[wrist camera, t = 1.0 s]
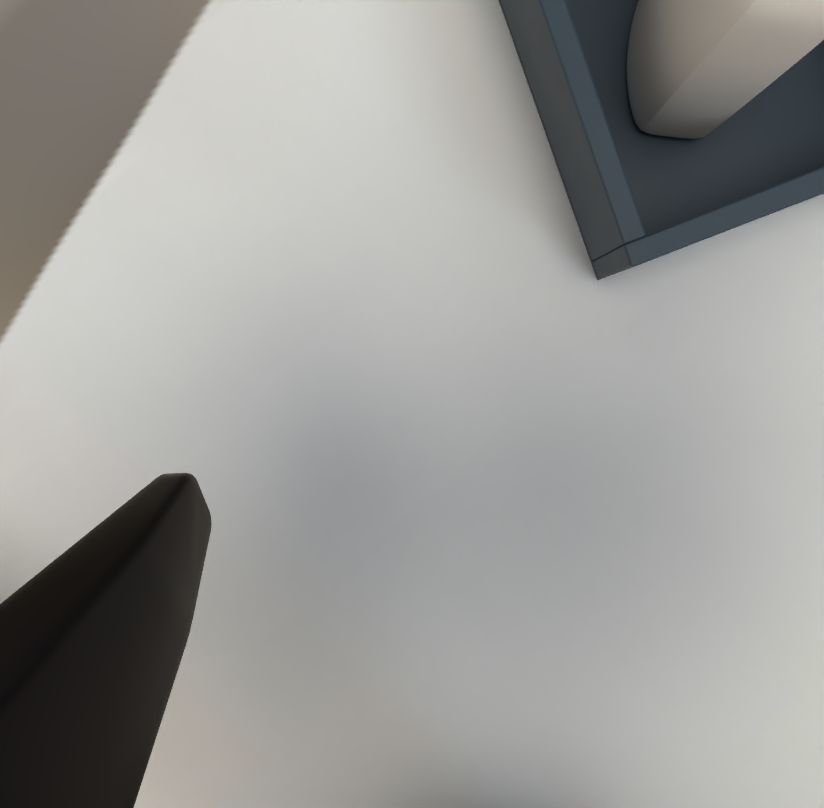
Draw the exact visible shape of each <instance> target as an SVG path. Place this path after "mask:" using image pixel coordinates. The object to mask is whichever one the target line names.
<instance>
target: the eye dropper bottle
mask: <svg viewBox="0 0 824 808" xmlns="http://www.w3.org/2000/svg"><path fill="white" fill-rule="evenodd" d="M823 40H824V0H639V1H638V4H637V7H636V10H635V13H634V17H633V21H632V25H631V30H630V35H629V42H628V51H627V86H628V95H629V101H630V106H631V111H632V115H633V118H634V121H635V123H636V124H637V126H638V127H639V129H640V130H642V131H644V132H646V133H648V134H652V135H659V136H668V137H677V138H687V139H697V138H702V137H705V136H707V135H708V134H709V133H711V132H712V131H713V130H714V129H716V128H717V127H718V126H719V125H721V124H722V123H723V122H724V121H726V120H727V119H728V118H729V117H731V116H732V115H733V114H734V113H735V112H737V111H738V110H739V109H740V108H742V107H743V106H744V105H745V104H747V103H748V102H749V101H750V100H751V99H753V98H754V97H755V96H756V95H758V94H759V93H760V92H761V91H763V90H764V89H765V88H766V87H767V86H769V85H770V84H771V83H772V82H773V81H775V80H776V79H777V78H778V77H780V76H781V75H782V74H783V73H784V72H786V71H787V70H788V69H789V68H790V67H792V66H793V65H794V64H795V63H797V62H798V61H799V60H800V59H801V58H803V57H804V56H805V55H806V54H807V53H809V52H810V51H811V50H812V49H813V48H815V47H816V46H817V45H818V44H819V43H820V42H822V41H823Z"/></svg>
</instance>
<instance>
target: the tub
mask: <svg viewBox="0 0 824 808" xmlns="http://www.w3.org/2000/svg"><path fill="white" fill-rule="evenodd" d="M638 1H639V0H499V2H500V5H501V8H502V11H503V14H504V16H505V19H506V22H507V25H508V28H509V31H510V33H511V36H512V39H513V42H514V45H515V48H516V50H517V53H518V56H519V59H520V62H521V65H522V67H523V70H524V73H525V76H526V79H527V82H528V84H529V87H530V90H531V93H532V96H533V99H534V102H535V104H536V107H537V110H538V113H539V116H540V119H541V121H542V124H543V127H544V130H545V133H546V136H547V138H548V141H549V144H550V147H551V150H552V153H553V155H554V158H555V161H556V164H557V167H558V170H559V172H560V175H561V178H562V181H563V184H564V187H565V189H566V192H567V195H568V198H569V201H570V204H571V206H572V209H573V212H574V215H575V218H576V221H577V223H578V226H579V229H580V232H581V235H582V238H583V240H584V243H585V246H586V249H587V252H588V255H589V257H590V260H591V263H592V266H593V269H594V272H595V274H596V277H597V280H599V279H602V278H605V277H607V276H610V275H613V274H615V273H618V272H621V271H623V270H626V269H628V268H631V267H634V266H636V265H639V264H642V263H644V262H647V261H649V260H652V259H655V258H657V257H660V256H662V255H665V254H668V253H670V252H673V251H675V250H678V249H680V248H683V247H686V246H688V245H691V244H693V243H696V242H699V241H701V240H704V239H706V238H709V237H712V236H714V235H717V234H719V233H722V232H725V231H727V230H730V229H732V228H735V227H738V226H740V225H743V224H745V223H748V222H750V221H753V220H756V219H758V218H761V217H763V216H766V215H769V214H771V213H774V212H776V211H779V210H782V209H784V208H787V207H789V206H792V205H795V204H797V203H800V202H802V201H805V200H808V199H810V198H813V197H815V196H818V195H820V194H823V193H824V40H823V41H822V42H820V43H819V44H818V45H817V46H816V47H815V48H813V49H812V50H811V51H810V52H809V53H807V54H806V55H805V56H804V57H803V58H801V59H800V60H799V61H798V62H797V63H795V64H794V65H793V66H792V67H790V68H789V69H788V70H787V71H786V72H784V73H783V74H782V75H781V76H780V77H778V78H777V79H776V80H775V81H773V82H772V83H771V84H770V85H769V86H767V87H766V88H765V89H764V90H763V91H761V92H760V93H759V94H758V95H756V96H755V97H754V98H753V99H751V100H750V101H749V102H748V103H747V104H745V105H744V106H743V107H742V108H740V109H739V110H738V111H737V112H735V113H734V114H733V115H732V116H731V117H729V118H728V119H727V120H726V121H724V122H723V123H722V124H721V125H719V126H718V127H717V128H716V129H714V130H713V131H712V132H711V133H709V134H708V135H707V136H705V137H702V138H697V139H687V138H677V137H668V136H659V135H652V134H648V133H646V132H644V131H642V130H640V129H639V127H638V126H637V124H636V123H635V121H634V118H633V115H632V111H631V106H630V101H629V95H628V86H627V51H628V42H629V35H630V30H631V25H632V21H633V17H634V13H635V10H636V7H637V4H638Z"/></svg>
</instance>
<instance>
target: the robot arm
mask: <svg viewBox="0 0 824 808" xmlns="http://www.w3.org/2000/svg"><path fill="white" fill-rule="evenodd" d="M210 532H211V515H210V511H209V509H208V506H207V504H206V502H205V499H204V497H203V494H202V492H201V489H200V487H199V484H198V482H197V480H196V478H195V477H194V476H193V475H192V474H188V473H172V474H163V475H160V476H159V477H157V478H156V479H155V480H153V481H152V482H151V483H150V484H149V485H147V486H146V487H145V488H144V489H142V490H141V491H140V492H139V493H137V494H136V495H135V496H134V497H132V498H131V499H130V500H129V501H127V502H126V503H125V504H124V505H122V506H121V507H120V508H119V509H118V510H116V511H115V512H114V513H113V514H111V515H110V516H109V517H108V518H106V519H105V520H104V521H103V522H101V523H100V524H99V525H98V526H96V527H95V528H94V529H93V530H91V531H90V532H89V533H88V534H87V535H85V536H84V537H83V538H82V539H80V540H79V541H78V542H77V543H75V544H74V545H73V546H72V547H70V548H69V549H68V550H67V551H65V552H64V553H63V554H62V555H61V556H59V557H58V558H57V559H56V560H54V561H53V562H52V563H51V564H49V565H48V566H47V567H46V568H44V569H43V570H42V571H41V572H39V573H38V574H37V575H36V576H34V577H33V578H32V579H31V580H30V581H28V582H27V583H26V584H25V585H23V586H22V587H21V588H20V589H18V590H17V591H16V592H15V593H13V594H12V595H11V596H10V597H8V598H7V599H6V600H5V601H3V602H2V603H1V604H0V808H134V804H135V801H136V798H137V795H138V792H139V789H140V786H141V783H142V780H143V776H144V773H145V770H146V767H147V764H148V761H149V758H150V755H151V752H152V749H153V745H154V742H155V739H156V736H157V733H158V730H159V727H160V724H161V721H162V717H163V714H164V711H165V708H166V705H167V702H168V699H169V696H170V693H171V689H172V686H173V683H174V680H175V677H176V674H177V671H178V668H179V665H180V662H181V658H182V655H183V652H184V649H185V646H186V642H187V639H188V636H189V632H190V628H191V624H192V620H193V615H194V611H195V606H196V601H197V596H198V591H199V586H200V581H201V576H202V571H203V566H204V561H205V556H206V551H207V547H208V542H209V537H210Z"/></svg>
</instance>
